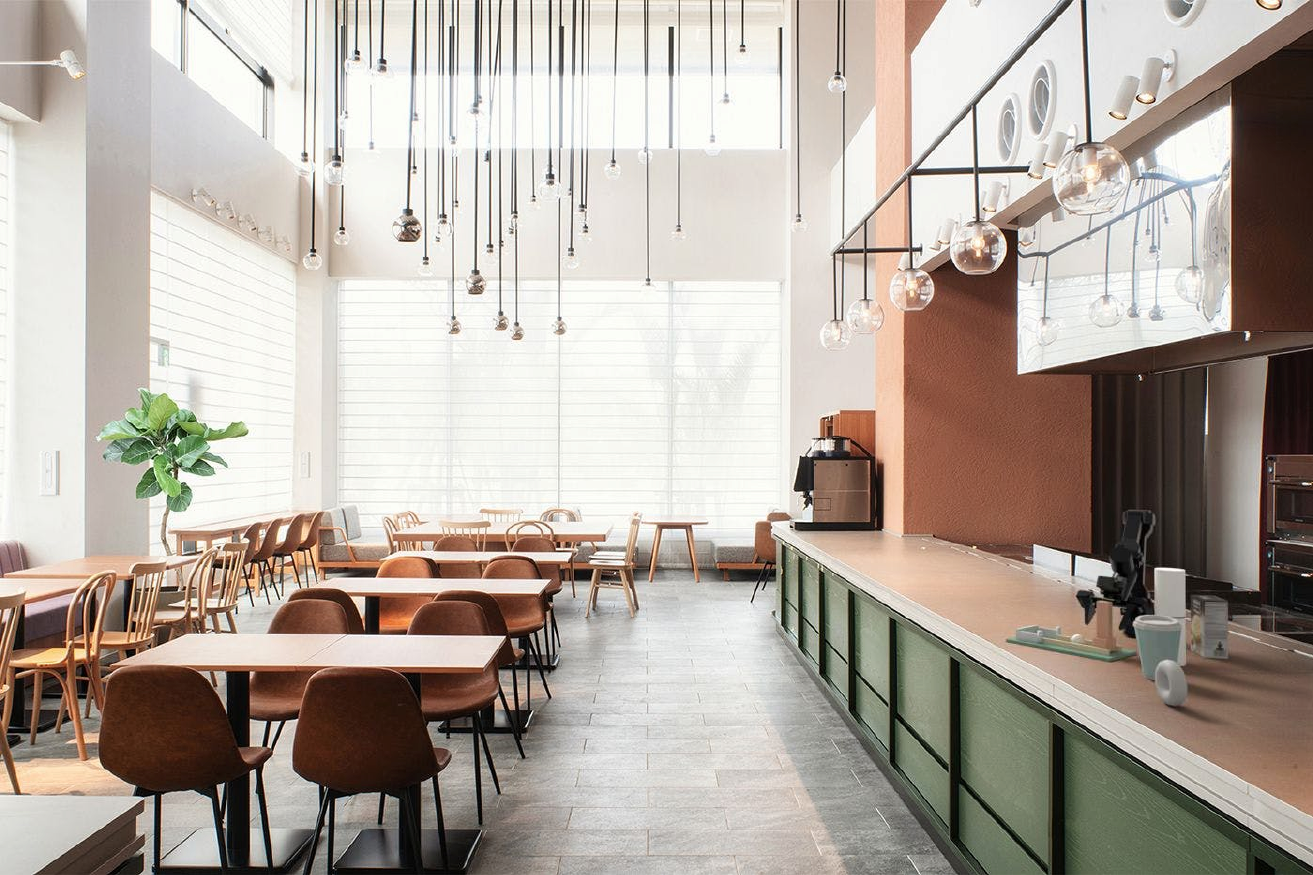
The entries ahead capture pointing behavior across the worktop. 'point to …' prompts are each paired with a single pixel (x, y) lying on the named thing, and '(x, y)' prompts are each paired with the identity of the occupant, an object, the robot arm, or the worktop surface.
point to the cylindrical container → (1172, 602)
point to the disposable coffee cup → (1156, 641)
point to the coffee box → (1209, 626)
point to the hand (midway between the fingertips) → (1102, 626)
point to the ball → (1078, 639)
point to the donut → (1171, 683)
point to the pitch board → (1077, 648)
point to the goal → (1036, 633)
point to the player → (1104, 627)
